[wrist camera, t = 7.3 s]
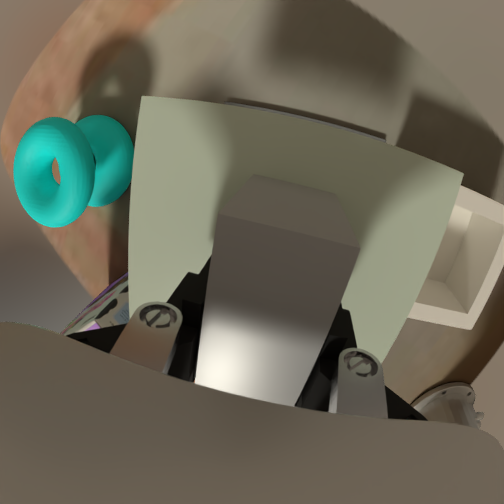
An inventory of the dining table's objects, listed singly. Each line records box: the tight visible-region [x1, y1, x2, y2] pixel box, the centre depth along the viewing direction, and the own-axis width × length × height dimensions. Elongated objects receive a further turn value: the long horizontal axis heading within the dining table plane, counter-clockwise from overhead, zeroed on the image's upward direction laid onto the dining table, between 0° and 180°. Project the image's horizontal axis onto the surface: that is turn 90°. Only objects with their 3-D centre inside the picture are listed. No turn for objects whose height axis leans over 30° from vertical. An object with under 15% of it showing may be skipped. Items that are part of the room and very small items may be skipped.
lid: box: [128, 96, 464, 406], centre depth 11 cm, size 13×13×7 cm
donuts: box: [14, 115, 134, 227], centre depth 25 cm, size 10×10×10 cm
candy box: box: [60, 272, 130, 336], centre depth 27 cm, size 14×6×16 cm, turn 124°
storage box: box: [408, 185, 504, 330], centre depth 25 cm, size 12×12×7 cm
